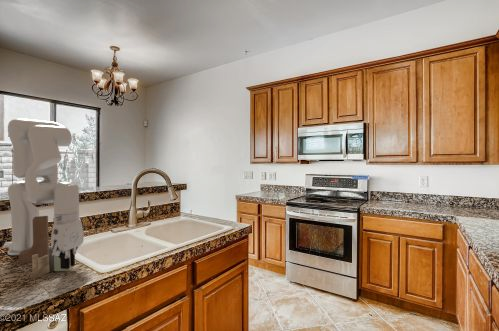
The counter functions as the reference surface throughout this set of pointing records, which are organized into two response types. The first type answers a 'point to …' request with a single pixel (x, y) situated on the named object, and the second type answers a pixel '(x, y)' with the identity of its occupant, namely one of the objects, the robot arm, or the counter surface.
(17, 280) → the counter surface
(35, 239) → the wooden block
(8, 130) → the robot arm
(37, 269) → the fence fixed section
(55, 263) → the fence swing section
